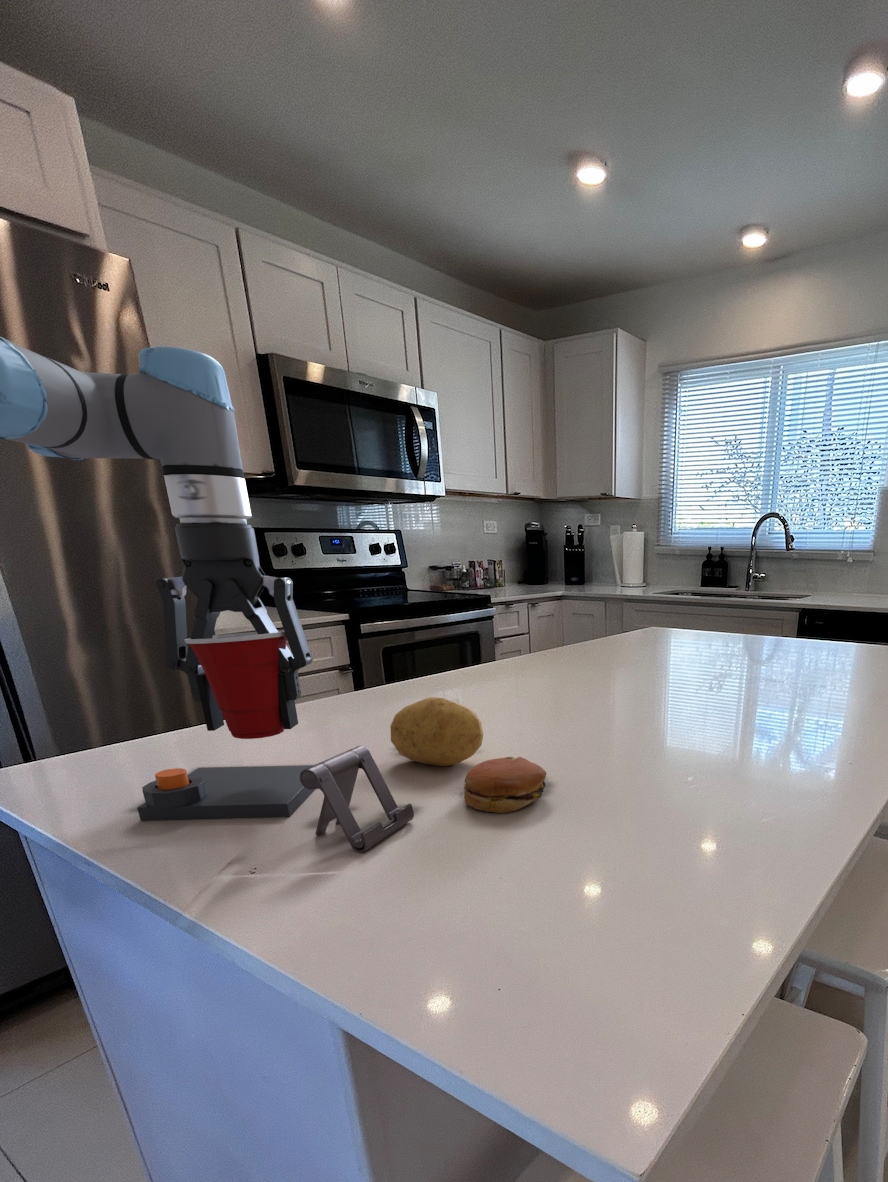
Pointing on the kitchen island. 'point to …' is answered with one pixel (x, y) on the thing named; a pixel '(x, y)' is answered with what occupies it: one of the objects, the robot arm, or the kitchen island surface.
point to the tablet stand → (338, 788)
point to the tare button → (172, 778)
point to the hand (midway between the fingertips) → (253, 726)
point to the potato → (436, 732)
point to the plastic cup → (244, 680)
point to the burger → (504, 784)
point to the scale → (228, 794)
